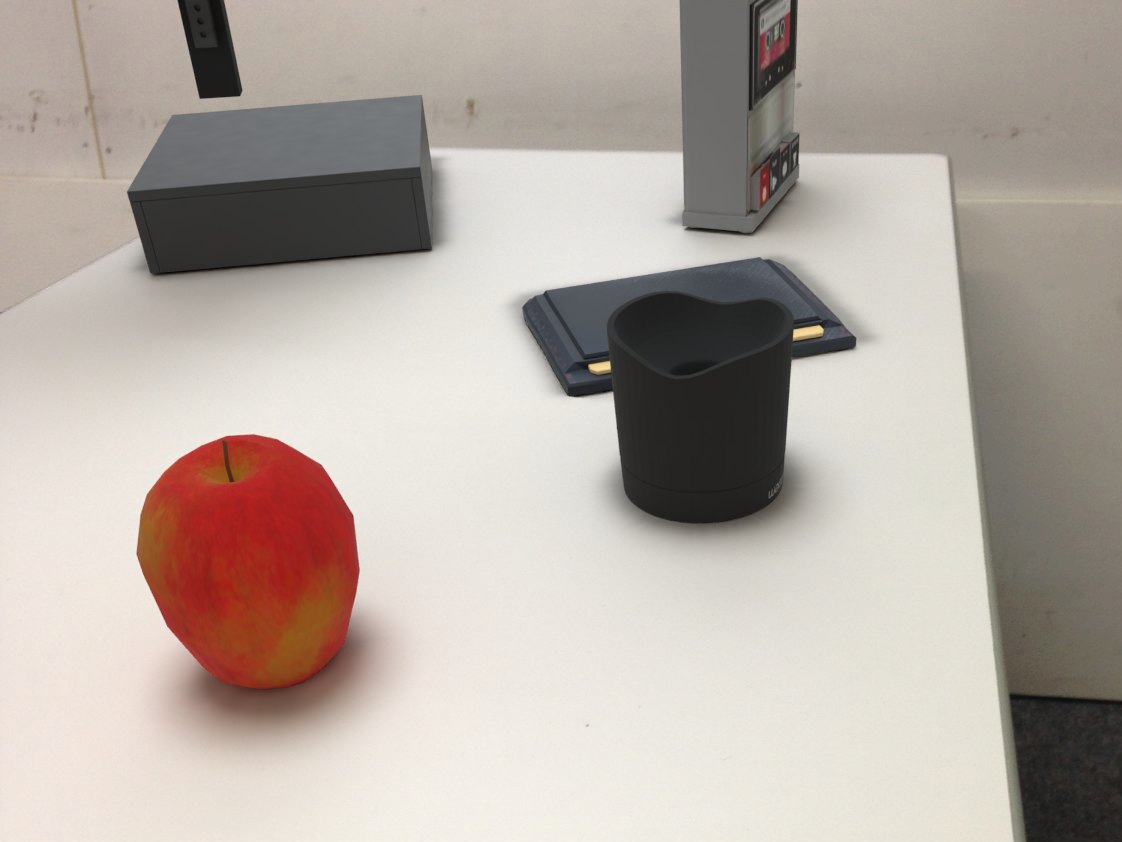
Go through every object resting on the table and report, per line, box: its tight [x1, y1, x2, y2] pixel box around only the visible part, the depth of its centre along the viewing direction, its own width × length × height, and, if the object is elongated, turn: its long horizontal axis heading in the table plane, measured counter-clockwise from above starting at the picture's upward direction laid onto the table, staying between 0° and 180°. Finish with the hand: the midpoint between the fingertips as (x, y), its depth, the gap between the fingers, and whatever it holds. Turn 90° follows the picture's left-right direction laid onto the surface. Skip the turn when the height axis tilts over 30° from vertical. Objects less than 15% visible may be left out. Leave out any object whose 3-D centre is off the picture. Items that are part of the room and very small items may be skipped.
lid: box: [126, 94, 433, 274], centre depth 107 cm, size 22×21×6 cm
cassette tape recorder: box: [679, 0, 800, 234], centre depth 100 cm, size 14×6×25 cm, turn 159°
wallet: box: [521, 256, 857, 397], centre depth 87 cm, size 20×2×15 cm
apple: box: [135, 433, 361, 690], centre depth 56 cm, size 9×9×12 cm
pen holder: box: [607, 291, 794, 525], centre depth 67 cm, size 9×9×10 cm
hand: (221, 94), depth 87 cm, fingers closed
